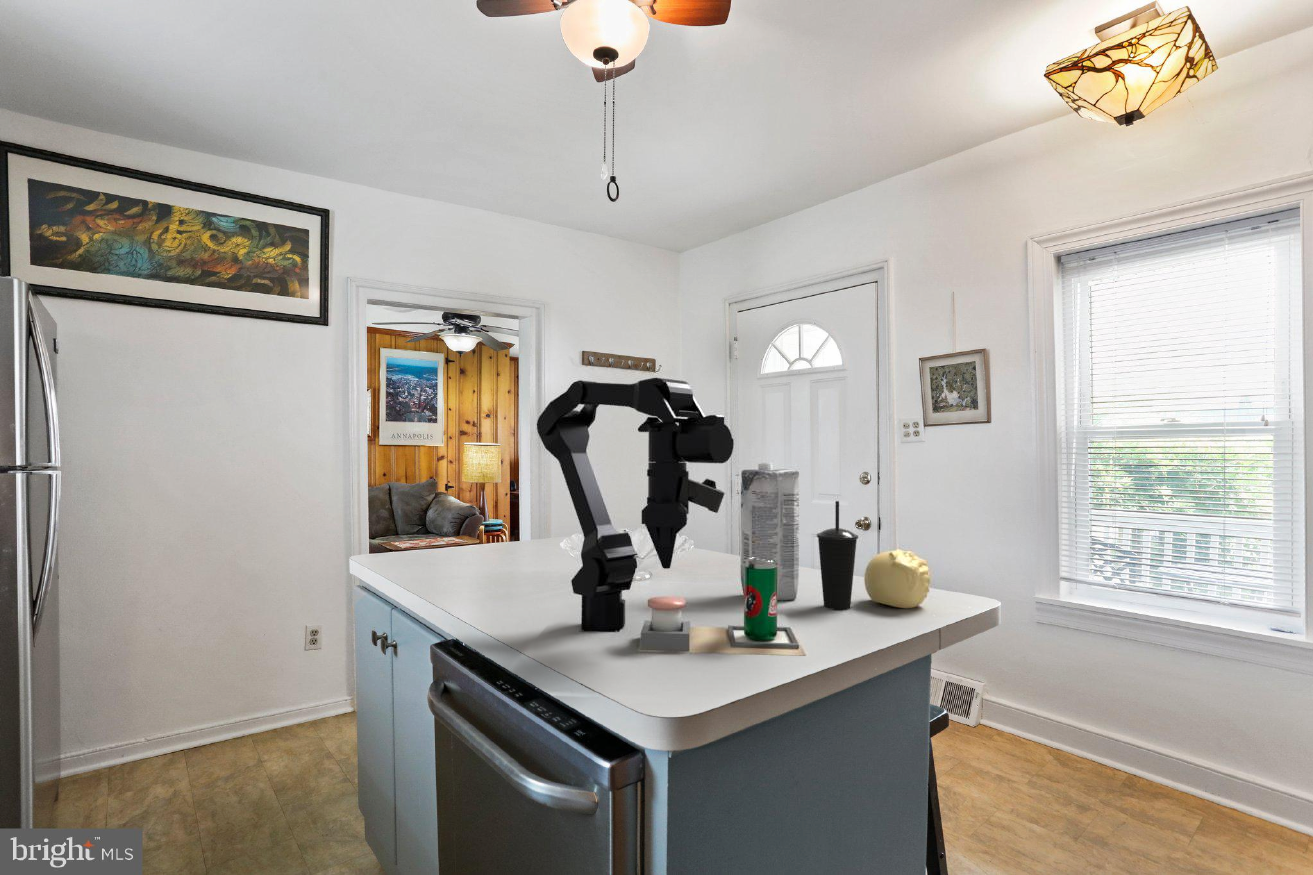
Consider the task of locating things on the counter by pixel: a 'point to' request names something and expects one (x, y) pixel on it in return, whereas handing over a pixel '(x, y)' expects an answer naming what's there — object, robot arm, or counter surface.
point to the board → (739, 642)
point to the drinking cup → (837, 564)
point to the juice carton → (772, 523)
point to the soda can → (760, 599)
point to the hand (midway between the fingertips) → (666, 566)
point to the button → (666, 613)
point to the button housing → (665, 638)
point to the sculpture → (897, 579)
